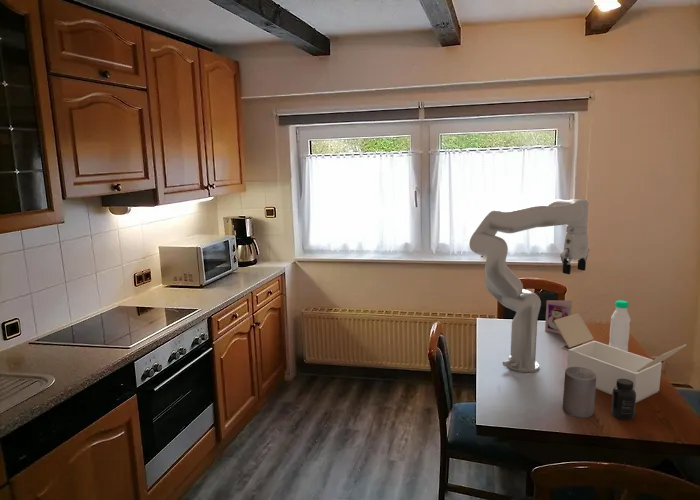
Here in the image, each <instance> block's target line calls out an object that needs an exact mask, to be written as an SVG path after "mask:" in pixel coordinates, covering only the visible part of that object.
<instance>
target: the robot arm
mask: <svg viewBox="0 0 700 500" xmlns="http://www.w3.org/2000/svg"><path fill="white" fill-rule="evenodd" d="M589 207H590V206H589V201H588V199H585V198H584V199H583V198H574V199H569V200H568V199H566V200H565V199H555V200H552V201H551V202H550V203H548V205H538V204H537V205H529V206H525V207H521V208H516V209H511V210H507V209H500V208H499V209H498V208H497V209H496V208H495V209H492V210H491V211H490V212H489V213H488V214H487V215H486V216H485V217H484V218H483V220H482V221H481V223H480V224H479V225H478V227H477V228H476V229H475V230H474V232H473V233H472V235H471V236H470V239H469V245H468V246H469V249H470V250H471V251H472V252H473V254H476V255H479V256H482V257H486V260H485V264H484V274H485V278H484V285H485V288H486V290H487V291H488V292H489V293H490V295H492V297H494V299H496V300H497V301H498V303H499V304H501V306H503V307H505V308H507V309H509V310H511V311H514V312H515V314H514V316H513V319H512V321H511V330H510V331H511V333H510V335H511V337H510V355H509V356H508V359H507V360H505V361H502V366H504V367H507V368H509V369H510V370H512V371H515V372H519V373H535V372H537V371H538V370H539V369H540V364H539V363H538V361H536V356H537V355H536V352H537V335H538V334H537V333H538V318H539V314H540V311H541V307H542V301H541V299H540V296H539V295H537V294H536V293H535V292H534V291H531V290H530V289H529V290H528V289H525V288H524V284H523V282H522V281H521V279H520V278H519V277H518V276H517V275H516V274H515V273H514V272H513V270H511V269H510V267H509V266H508V265H507V256H508V251H509V248H508V244H507V242H506V240H505V239H503V238H502V237H500V236H496V235H497V233H498V232H500V233H503V234H515V233H519V232H524V231H526V230H532V229H535V228H546V227H547V228H548V227H556V226H563V225H565V226H566V229H565V230H566V231H565V233H566V234H565V239H564V244H563V251H562V252H561V253H560V255H559V256H560V261H561V263H562V274H564V275H565V274H566V275H571V270H572V267H571V265H572V264H571V262H572V261H573V260H574V261H575V260H577V270H579V271H586V268H587V267H586V264H587V260H588V257H589V254H590V249H589V235H588V232H587V231H588V218H589Z"/></svg>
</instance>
